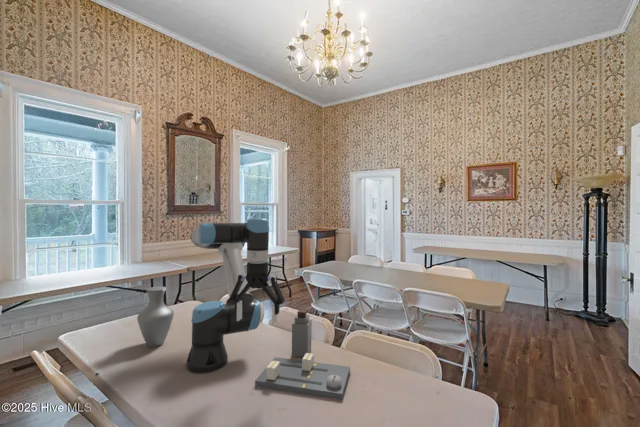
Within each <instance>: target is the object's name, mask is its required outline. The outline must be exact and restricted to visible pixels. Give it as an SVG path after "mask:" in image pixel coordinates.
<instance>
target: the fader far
mask: <svg viewBox="0 0 640 427" xmlns="http://www.w3.org/2000/svg"><path fill="white" fill-rule="evenodd" d="M314 355H315V354H314V353H312V352H310V353H306V354H305V355H304V357H303V358H301V361H302V370H306V371H310V370H311V368H312V367H313V365H314V362H315V360H314V359H315V358H314Z"/></svg>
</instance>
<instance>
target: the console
mask: <svg viewBox="0 0 640 427" xmlns="http://www.w3.org/2000/svg"><path fill="white" fill-rule="evenodd" d="M272 361H279V362H280V374H279V375H278V376H277V378H276V379H275V380H270V379H267V366H266V367H265V368H264V370H263V371H262V372H261V373H260V375H258V377H257V378H256V379H255V382H254V387H255V388H263V389H267V390H268V389H269V390H275V391H282V392H288V393H295V394H301V395H307V396H312V397H319V398H326V399H332V400H333V399H334V400H339V401H342V400H343V399H344V395H345V391H346V388H347V386H348V385H347V384H348V381H349V376H350V373H351V366H346V365H339V364H331V363H324V362H315V361H314V365H313V367H312V368H311V370H310V371H306V370H302V359H301V360H300V359H292V358H285V357H274V358H273V359H272V360H271V361H270V363H271V362H272Z"/></svg>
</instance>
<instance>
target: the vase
mask: <svg viewBox="0 0 640 427" xmlns="http://www.w3.org/2000/svg"><path fill="white" fill-rule="evenodd" d="M166 290H167V287H166V286H160V285H159V286H152V287H148V288H146V289H145V292H146V293H147V296H148V304H147V306H146V307H145V308H144V309H143V310H141V311H140V312H139V313H138V314H137V317H136V319H137V324H138V326H139V330H140V333H141V336H142V337H143V340H144V342H145V344H146V345H147V347H149V348H156V347H159V346H162V345H164V343H165V341H166V338H167V336H168V334H169V331H170V328H171V325H172V322H173V319H174V315H175V313H174V310H173V309H172V308H171V307H169V306H168V305H166V304H165V302H164V297H165V296H164V295H165V293H166Z"/></svg>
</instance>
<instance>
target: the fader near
mask: <svg viewBox="0 0 640 427" xmlns="http://www.w3.org/2000/svg"><path fill="white" fill-rule="evenodd" d="M271 361H272V360H271ZM271 361H270V362H269V364H268V365H267V366H266V367H267V379H270V380H275V379H276V378H277V376H278V375H279V374H280V362H279V361H272V362H271Z"/></svg>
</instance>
